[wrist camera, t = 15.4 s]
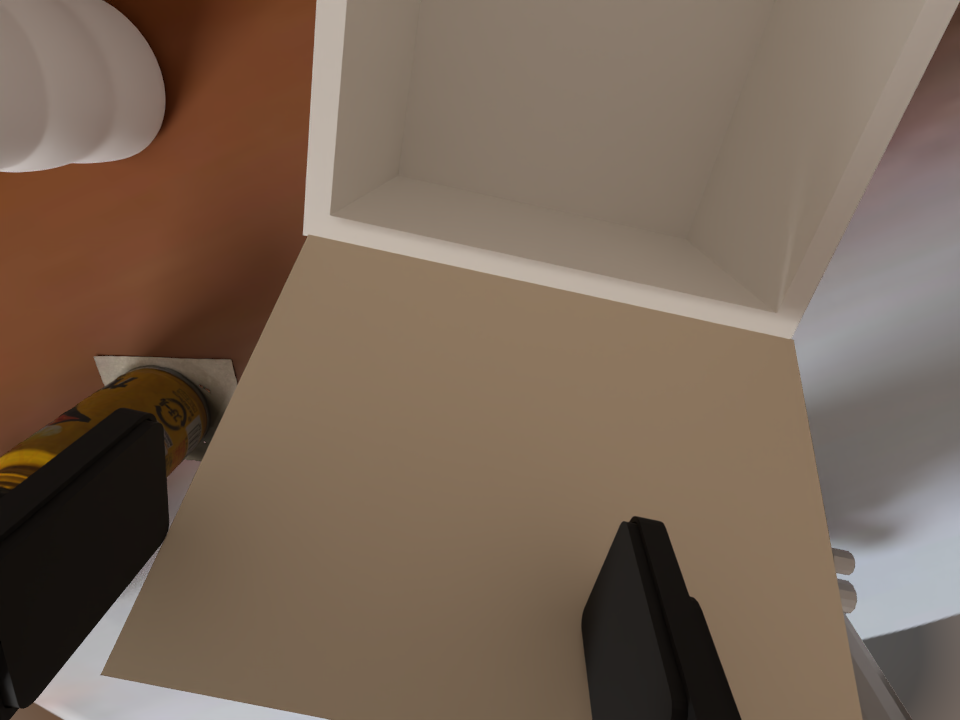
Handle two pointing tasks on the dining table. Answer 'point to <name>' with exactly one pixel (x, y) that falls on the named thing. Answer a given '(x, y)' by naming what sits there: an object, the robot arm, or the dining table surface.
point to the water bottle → (74, 85)
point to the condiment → (139, 387)
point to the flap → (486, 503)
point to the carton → (613, 139)
